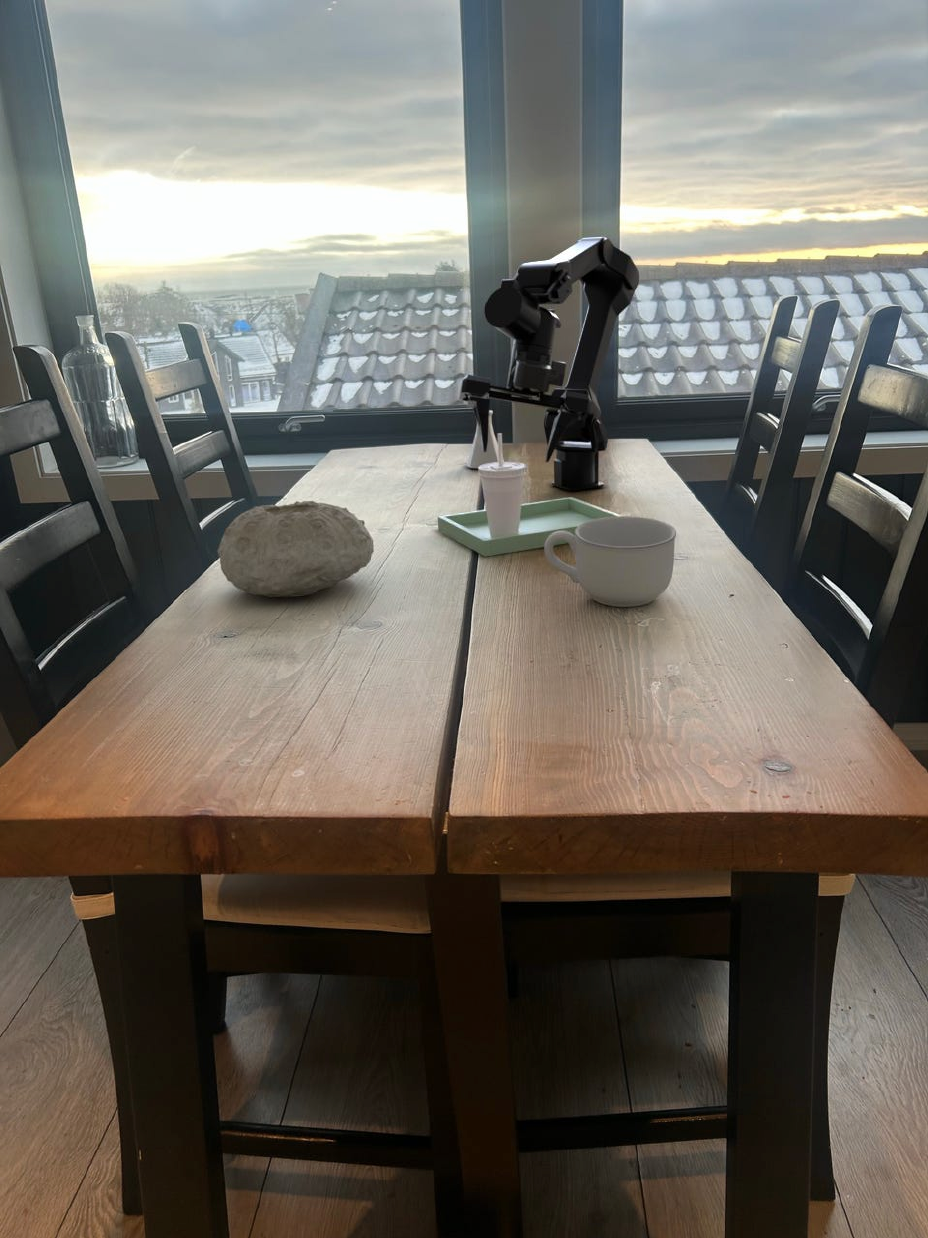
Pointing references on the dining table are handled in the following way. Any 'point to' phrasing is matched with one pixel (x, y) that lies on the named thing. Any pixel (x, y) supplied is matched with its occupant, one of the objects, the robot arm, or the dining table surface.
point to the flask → (476, 453)
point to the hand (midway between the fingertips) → (515, 456)
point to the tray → (521, 525)
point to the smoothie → (502, 494)
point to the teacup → (619, 558)
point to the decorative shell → (293, 548)
